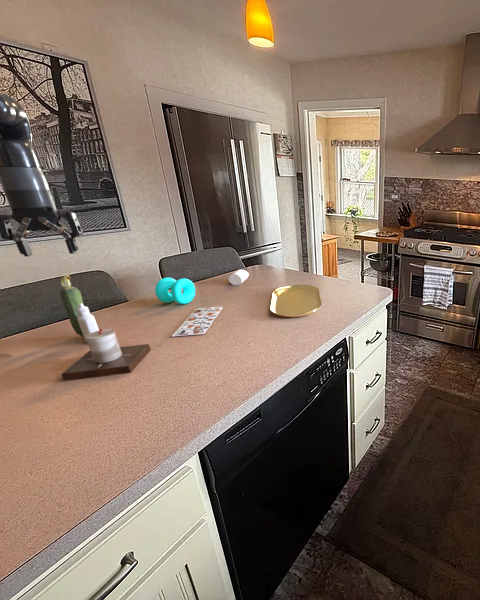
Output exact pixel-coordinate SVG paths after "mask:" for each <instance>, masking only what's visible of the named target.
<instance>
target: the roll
mask: <svg viewBox="0 0 480 600" xmlns="http://www.w3.org/2000/svg"><path fill="white" fill-rule="evenodd" d="M249 276H250V273H249V272H248V271H247V270H244V269H237V270H236V271H234V272H233V273H231V274H230V275H229V276H228V281H229V283H230V284H231V285H233V286H239V285H241V284H242V283H244V282H245V281H246V280H247V279H248V278H249Z"/></svg>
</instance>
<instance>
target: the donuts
mask: <svg viewBox="0 0 480 600" xmlns="http://www.w3.org/2000/svg"><path fill="white" fill-rule="evenodd" d="M169 289H170V291H169ZM154 292H155V296H156V298H157V299H158V300H159V301H160V302H161V303H166V304H170V303H173V302H176V303H178V304H180V305H186V304H189V303H190V302H192V301H193V299H194V298H195V296H196V287H195V284H194V282H193V281H192V280H191V279H188V278H185V277H184V278H178V279H177V280H176V279H174V278H172V277H167V276H166V277H163V278H161V279H159V280H158V282H157V283H156V285H155V289H154Z"/></svg>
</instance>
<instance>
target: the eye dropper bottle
mask: <svg viewBox="0 0 480 600" xmlns="http://www.w3.org/2000/svg"><path fill="white" fill-rule="evenodd" d="M77 312H78V314H79V316H78V322H79V325H80V328H81V330H82V333H83V336H84V337H83V339H84V341H85V342H86V343H88V342H87V340H86V336H87V335H88V334H90V333H92V332H95V331H99V330H100V328H99V326H98V323H97V321H96V317H95V316H94V315H93V314H91V311H90V309H89V307H88V306H85V305H84V303H83V304H82V303H80V304H79V308H77Z"/></svg>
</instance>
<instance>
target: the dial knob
mask: <svg viewBox="0 0 480 600" xmlns="http://www.w3.org/2000/svg"><path fill="white" fill-rule="evenodd" d="M86 340H87V342H86V343H87V345H88V347H89V351H90V350H91V353H92V356H93V358H94V361H95V362H96V363H105V362H109V361H113V360H115V359H117V358H119V357H120V356H121V355H122V352H121V349H120V347H121V346H120V344H119V343H120V342H119V340H118V337H117V334H116V331H115V330H114V329H112V328H106V329H105V328H99V331H95V332H92V333H90V334H88V335H87V336H86Z"/></svg>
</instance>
